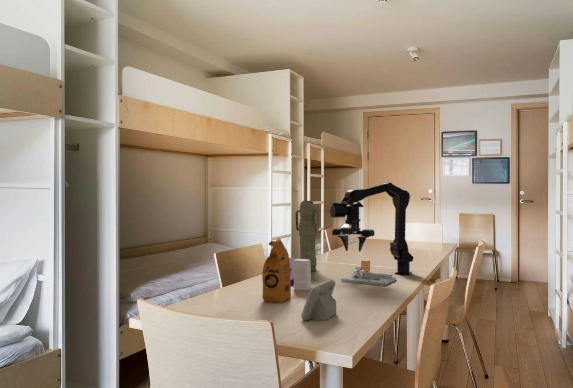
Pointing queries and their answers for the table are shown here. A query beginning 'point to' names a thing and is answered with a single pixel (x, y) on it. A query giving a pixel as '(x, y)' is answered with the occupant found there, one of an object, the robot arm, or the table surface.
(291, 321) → the table surface
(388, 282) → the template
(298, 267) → the skincare box
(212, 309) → the table surface
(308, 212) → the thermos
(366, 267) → the slider
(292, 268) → the purple package
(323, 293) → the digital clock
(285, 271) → the coffee package
